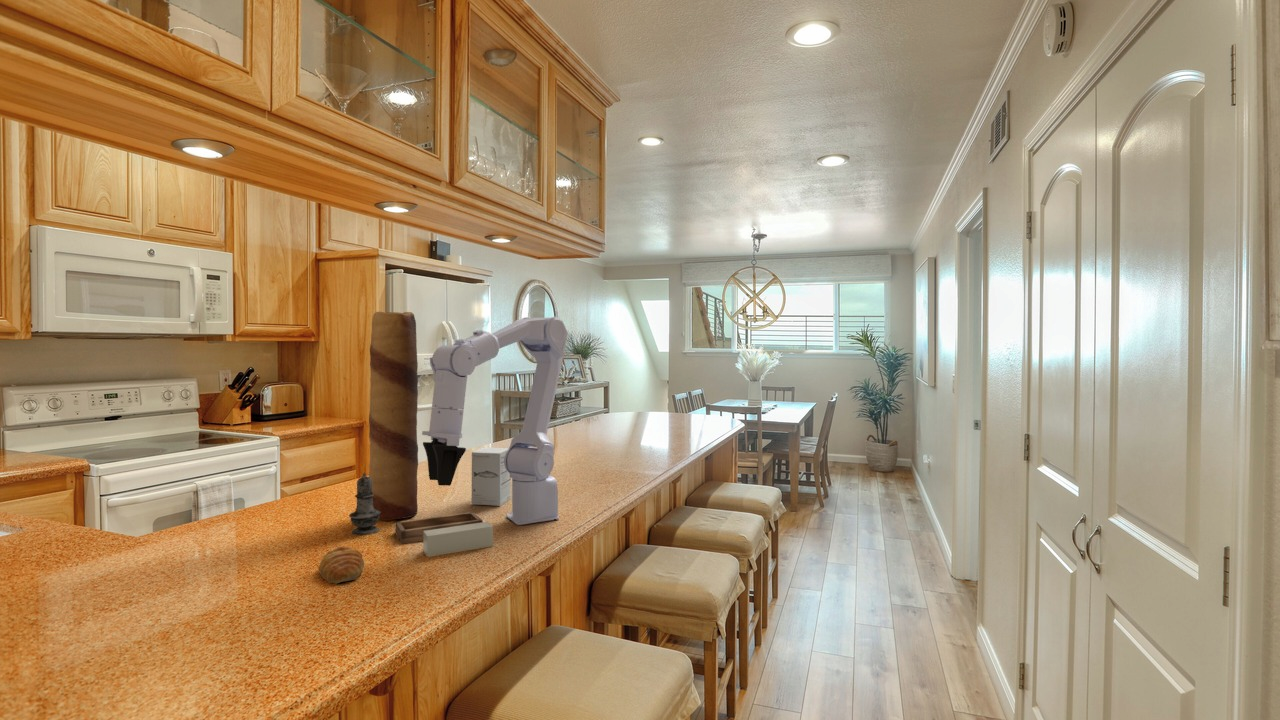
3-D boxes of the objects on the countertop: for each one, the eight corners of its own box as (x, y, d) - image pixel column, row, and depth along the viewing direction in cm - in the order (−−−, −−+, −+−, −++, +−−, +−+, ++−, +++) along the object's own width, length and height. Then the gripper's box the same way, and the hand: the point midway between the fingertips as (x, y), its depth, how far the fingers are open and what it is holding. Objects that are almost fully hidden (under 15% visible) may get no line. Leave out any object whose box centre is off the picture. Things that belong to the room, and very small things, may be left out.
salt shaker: (386, 527, 130) (385, 469, 130) (371, 536, 124) (370, 475, 124) (359, 526, 131) (358, 469, 130) (343, 535, 125) (342, 475, 125)
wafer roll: (426, 509, 144) (424, 312, 143) (409, 522, 134) (407, 310, 132) (380, 509, 144) (378, 312, 143) (360, 522, 134) (358, 310, 132)
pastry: (369, 581, 102) (368, 557, 102) (322, 590, 98) (322, 566, 98) (360, 563, 110) (360, 541, 110) (317, 571, 106) (316, 549, 106)
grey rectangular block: (487, 542, 122) (487, 521, 122) (493, 547, 119) (493, 526, 119) (423, 552, 116) (423, 531, 116) (427, 558, 113) (427, 536, 113)
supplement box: (470, 505, 148) (470, 451, 147) (483, 497, 155) (483, 446, 155) (500, 506, 146) (500, 452, 146) (512, 498, 154) (511, 447, 153)
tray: (472, 521, 134) (472, 511, 134) (483, 531, 128) (483, 520, 127) (395, 532, 127) (395, 521, 127) (401, 543, 120) (401, 532, 120)
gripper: (418, 406, 122) (410, 477, 120) (433, 408, 109) (424, 487, 108) (455, 409, 125) (447, 478, 124) (474, 411, 112) (466, 488, 111)
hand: (439, 482), depth 116 cm, fingers open, 7 cm apart
